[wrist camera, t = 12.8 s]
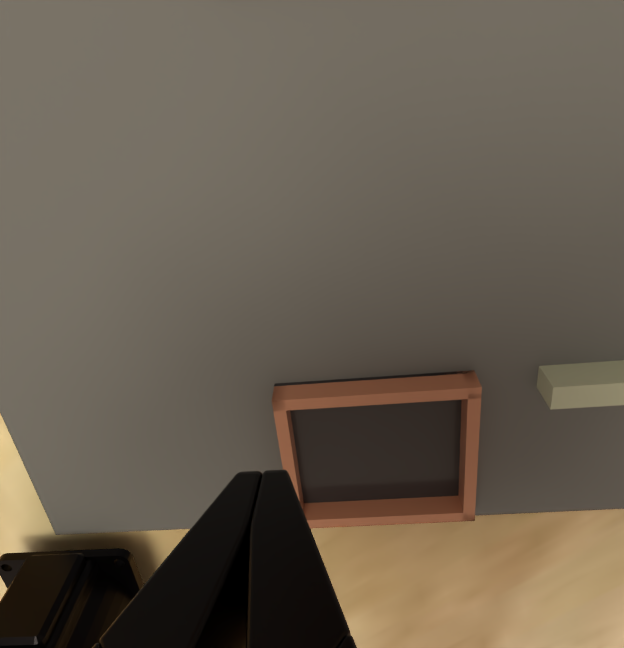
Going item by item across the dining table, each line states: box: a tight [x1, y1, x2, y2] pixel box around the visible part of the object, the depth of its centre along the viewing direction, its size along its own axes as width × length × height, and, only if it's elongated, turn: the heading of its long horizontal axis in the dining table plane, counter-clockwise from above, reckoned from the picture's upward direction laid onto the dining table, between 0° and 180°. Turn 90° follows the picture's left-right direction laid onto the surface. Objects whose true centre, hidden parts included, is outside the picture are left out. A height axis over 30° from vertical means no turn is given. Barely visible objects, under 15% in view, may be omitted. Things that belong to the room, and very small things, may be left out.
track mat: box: [0, 0, 624, 535], centre depth 18 cm, size 30×38×1 cm
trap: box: [272, 370, 482, 528], centre depth 22 cm, size 7×8×1 cm
